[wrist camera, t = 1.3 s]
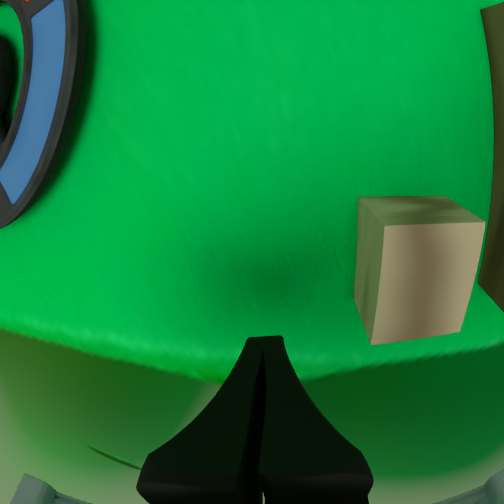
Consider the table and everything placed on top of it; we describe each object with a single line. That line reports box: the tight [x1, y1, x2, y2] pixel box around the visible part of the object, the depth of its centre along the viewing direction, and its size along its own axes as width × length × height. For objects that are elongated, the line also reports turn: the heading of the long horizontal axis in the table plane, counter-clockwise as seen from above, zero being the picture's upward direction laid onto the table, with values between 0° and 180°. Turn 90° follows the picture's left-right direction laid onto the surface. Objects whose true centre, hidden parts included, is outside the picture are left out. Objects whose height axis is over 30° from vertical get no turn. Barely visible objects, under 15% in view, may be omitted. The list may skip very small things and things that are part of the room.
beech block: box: [354, 196, 486, 345], centre depth 17 cm, size 6×7×5 cm
